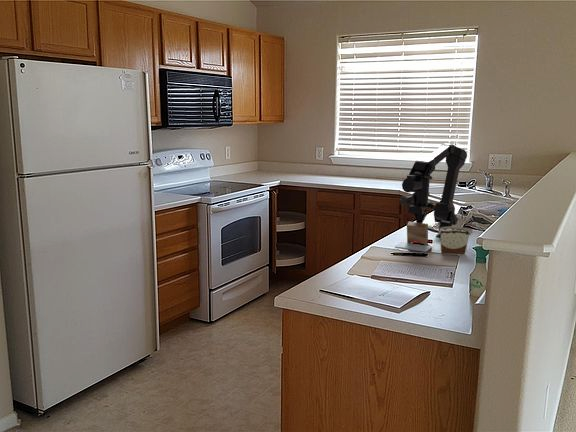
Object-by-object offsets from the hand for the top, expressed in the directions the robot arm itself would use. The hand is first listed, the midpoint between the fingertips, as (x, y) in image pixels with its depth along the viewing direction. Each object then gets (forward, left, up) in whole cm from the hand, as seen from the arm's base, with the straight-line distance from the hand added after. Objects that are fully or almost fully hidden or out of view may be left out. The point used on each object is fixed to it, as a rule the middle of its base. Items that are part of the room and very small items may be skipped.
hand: (418, 227), depth 225 cm
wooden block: (0, 0, -7) cm, 7 cm away
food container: (+6, +15, -7) cm, 18 cm away
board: (+7, 0, -7) cm, 10 cm away
